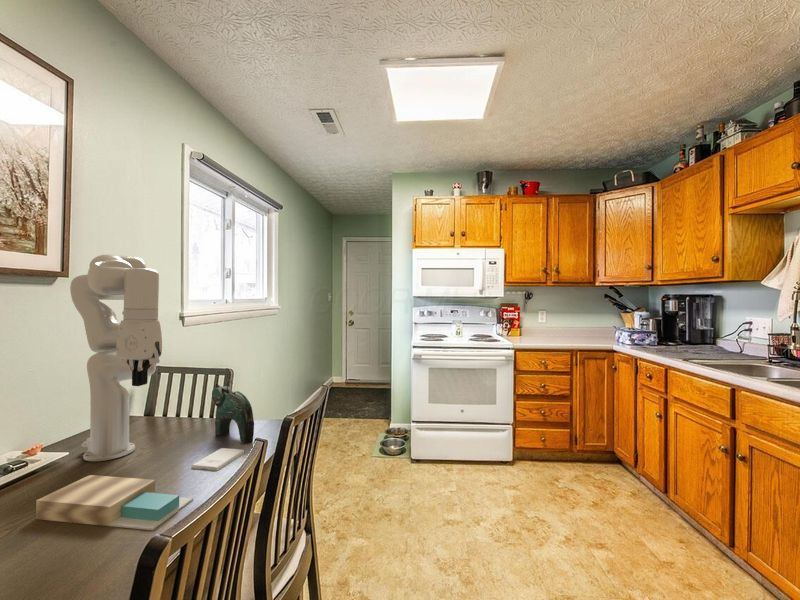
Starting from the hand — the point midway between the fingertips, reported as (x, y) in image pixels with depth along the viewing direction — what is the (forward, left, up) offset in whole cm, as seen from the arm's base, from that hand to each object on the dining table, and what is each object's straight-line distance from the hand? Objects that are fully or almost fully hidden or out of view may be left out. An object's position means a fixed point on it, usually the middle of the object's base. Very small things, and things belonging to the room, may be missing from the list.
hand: (139, 384), depth 99 cm
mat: (+16, -13, -25) cm, 32 cm away
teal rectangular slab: (+16, -14, -25) cm, 32 cm away
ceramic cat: (+7, +32, -25) cm, 41 cm away
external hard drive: (+13, +14, -26) cm, 32 cm away
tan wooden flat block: (+2, -13, -25) cm, 28 cm away
